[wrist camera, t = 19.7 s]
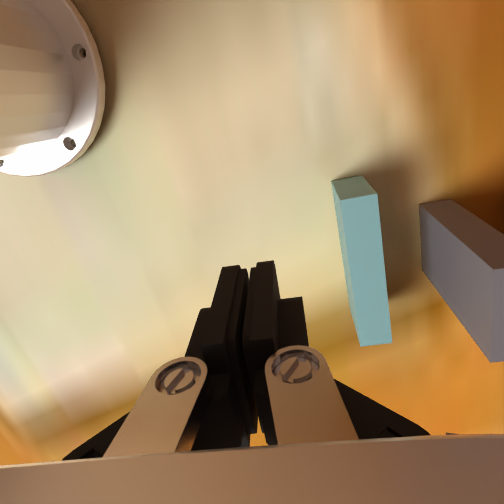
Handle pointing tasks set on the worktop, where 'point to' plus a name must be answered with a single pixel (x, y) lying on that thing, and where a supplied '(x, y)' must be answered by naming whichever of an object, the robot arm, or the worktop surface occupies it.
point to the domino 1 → (363, 258)
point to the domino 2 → (466, 270)
